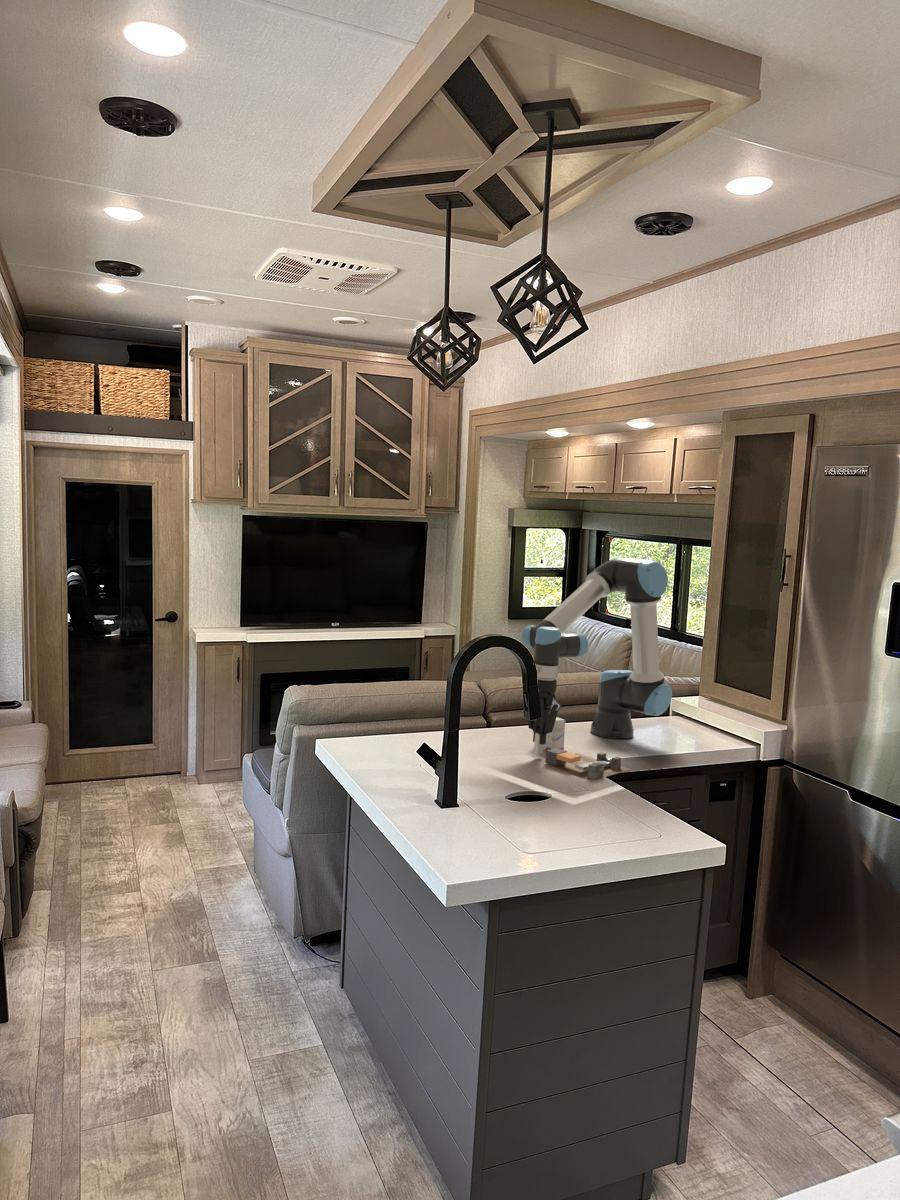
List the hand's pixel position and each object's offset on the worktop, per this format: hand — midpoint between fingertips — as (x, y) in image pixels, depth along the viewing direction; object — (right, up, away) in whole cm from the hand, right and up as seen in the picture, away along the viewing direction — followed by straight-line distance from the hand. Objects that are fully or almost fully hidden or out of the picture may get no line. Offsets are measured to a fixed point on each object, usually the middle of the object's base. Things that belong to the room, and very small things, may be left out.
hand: (538, 753), depth 254 cm
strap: (+16, -3, -8) cm, 18 cm away
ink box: (+5, -2, +12) cm, 13 cm away
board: (+13, -4, -5) cm, 15 cm away
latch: (+7, -2, -7) cm, 9 cm away
